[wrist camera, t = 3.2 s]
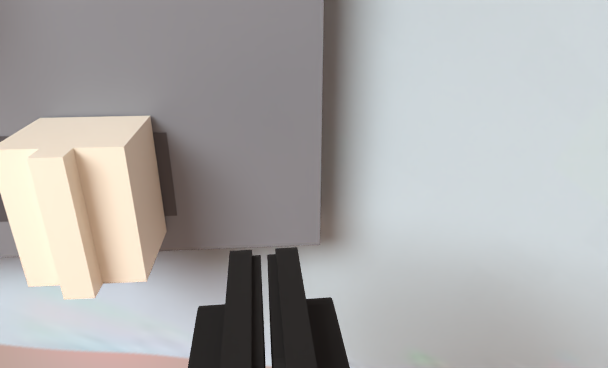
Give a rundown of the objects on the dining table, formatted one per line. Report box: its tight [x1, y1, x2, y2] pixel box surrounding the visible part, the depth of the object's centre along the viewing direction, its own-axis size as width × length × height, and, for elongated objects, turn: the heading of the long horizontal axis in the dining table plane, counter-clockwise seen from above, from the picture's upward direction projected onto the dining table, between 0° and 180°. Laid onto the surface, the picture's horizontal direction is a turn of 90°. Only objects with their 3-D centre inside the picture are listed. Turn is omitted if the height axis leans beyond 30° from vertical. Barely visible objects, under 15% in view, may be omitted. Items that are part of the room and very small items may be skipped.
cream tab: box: [0, 116, 167, 299], centre depth 16 cm, size 4×5×4 cm
